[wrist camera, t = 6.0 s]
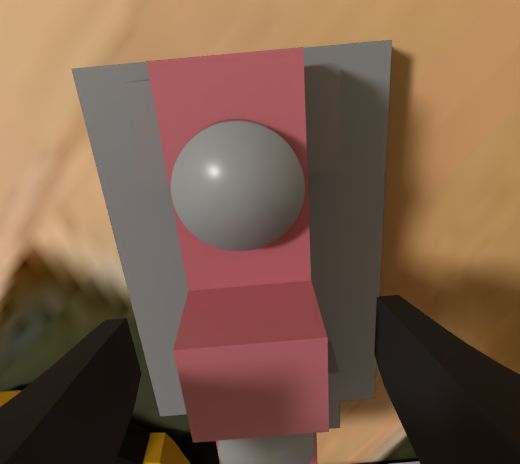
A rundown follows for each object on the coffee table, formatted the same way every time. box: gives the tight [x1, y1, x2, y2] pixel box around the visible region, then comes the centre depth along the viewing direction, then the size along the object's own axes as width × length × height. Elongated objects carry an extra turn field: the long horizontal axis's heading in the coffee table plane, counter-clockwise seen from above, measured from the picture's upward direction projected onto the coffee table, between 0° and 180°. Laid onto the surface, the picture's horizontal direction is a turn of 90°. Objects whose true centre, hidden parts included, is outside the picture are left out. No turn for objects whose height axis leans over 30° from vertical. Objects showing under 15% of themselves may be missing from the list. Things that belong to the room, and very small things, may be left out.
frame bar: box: [147, 47, 329, 464], centre depth 11 cm, size 15×4×4 cm, turn 5°
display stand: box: [72, 40, 392, 429], centre depth 15 cm, size 15×10×3 cm, turn 5°
